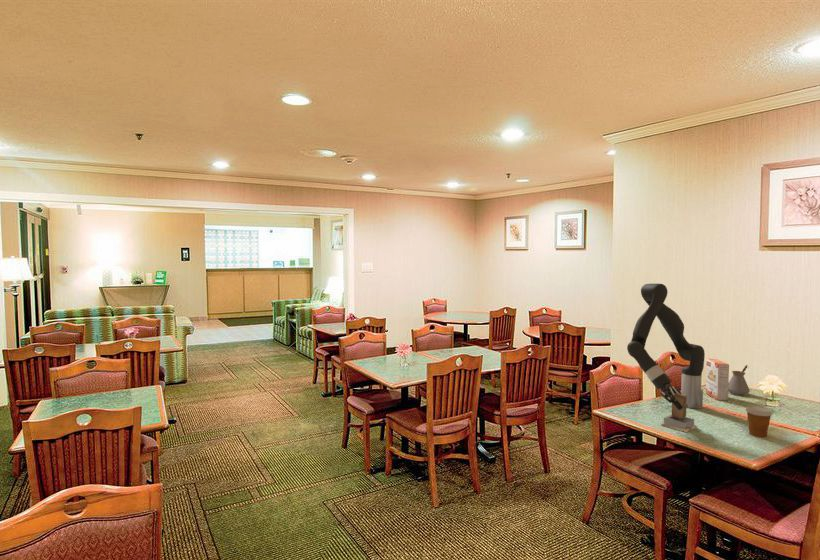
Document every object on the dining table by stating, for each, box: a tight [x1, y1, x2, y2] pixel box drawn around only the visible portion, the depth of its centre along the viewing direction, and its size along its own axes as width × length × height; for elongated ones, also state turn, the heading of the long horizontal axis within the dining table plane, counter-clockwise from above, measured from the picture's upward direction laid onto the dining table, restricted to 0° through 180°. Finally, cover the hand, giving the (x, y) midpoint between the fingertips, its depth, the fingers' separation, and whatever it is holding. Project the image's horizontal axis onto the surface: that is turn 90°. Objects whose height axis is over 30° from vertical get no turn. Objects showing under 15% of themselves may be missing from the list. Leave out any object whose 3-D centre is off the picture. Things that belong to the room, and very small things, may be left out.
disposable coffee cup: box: [745, 405, 773, 438], centre depth 213 cm, size 10×10×12 cm
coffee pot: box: [728, 364, 751, 396], centre depth 283 cm, size 21×12×15 cm, turn 129°
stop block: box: [671, 393, 687, 418], centre depth 223 cm, size 4×4×10 cm
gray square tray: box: [661, 414, 698, 433], centre depth 223 cm, size 11×11×4 cm
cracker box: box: [705, 358, 730, 402], centre depth 272 cm, size 14×6×21 cm, turn 172°
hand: (683, 407), depth 221 cm, fingers closed on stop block, 4 cm apart
